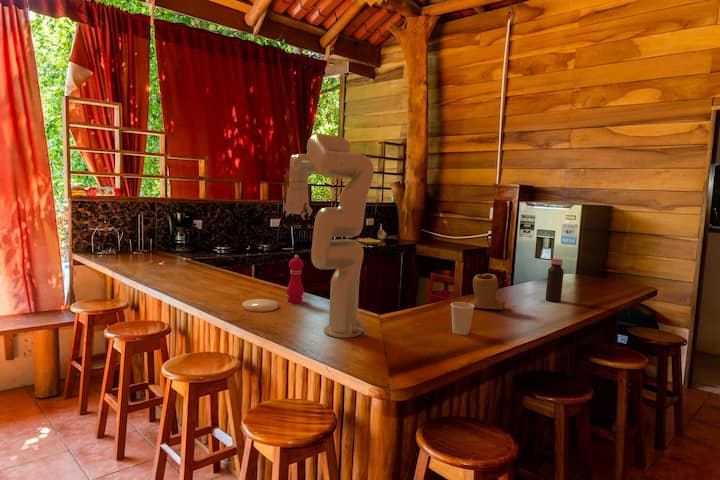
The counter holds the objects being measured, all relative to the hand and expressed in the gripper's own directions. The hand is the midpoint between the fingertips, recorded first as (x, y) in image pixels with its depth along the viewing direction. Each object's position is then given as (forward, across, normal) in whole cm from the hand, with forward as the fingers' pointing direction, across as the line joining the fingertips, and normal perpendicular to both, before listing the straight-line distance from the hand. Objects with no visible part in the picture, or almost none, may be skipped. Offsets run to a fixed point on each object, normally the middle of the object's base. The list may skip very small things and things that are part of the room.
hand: (296, 227), depth 195 cm
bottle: (+31, +68, +102) cm, 126 cm away
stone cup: (+31, +56, +60) cm, 88 cm away
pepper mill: (+32, 0, +1) cm, 32 cm away
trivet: (+31, -1, -16) cm, 35 cm away
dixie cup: (+31, +68, +21) cm, 77 cm away
